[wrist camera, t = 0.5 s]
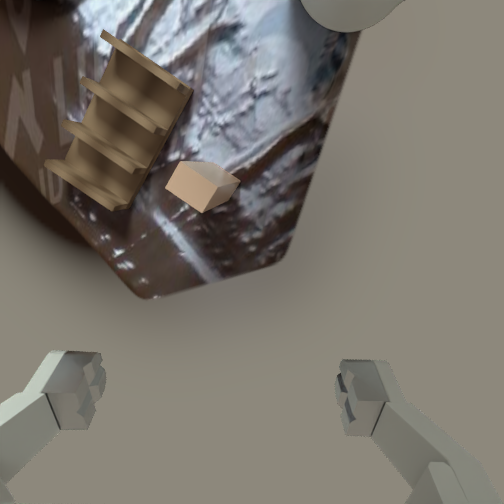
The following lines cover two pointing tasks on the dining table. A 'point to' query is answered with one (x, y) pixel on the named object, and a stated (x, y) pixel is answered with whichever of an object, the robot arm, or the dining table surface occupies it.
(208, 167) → the beige rectangular block
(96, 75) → the dining table surface
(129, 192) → the drying rack
